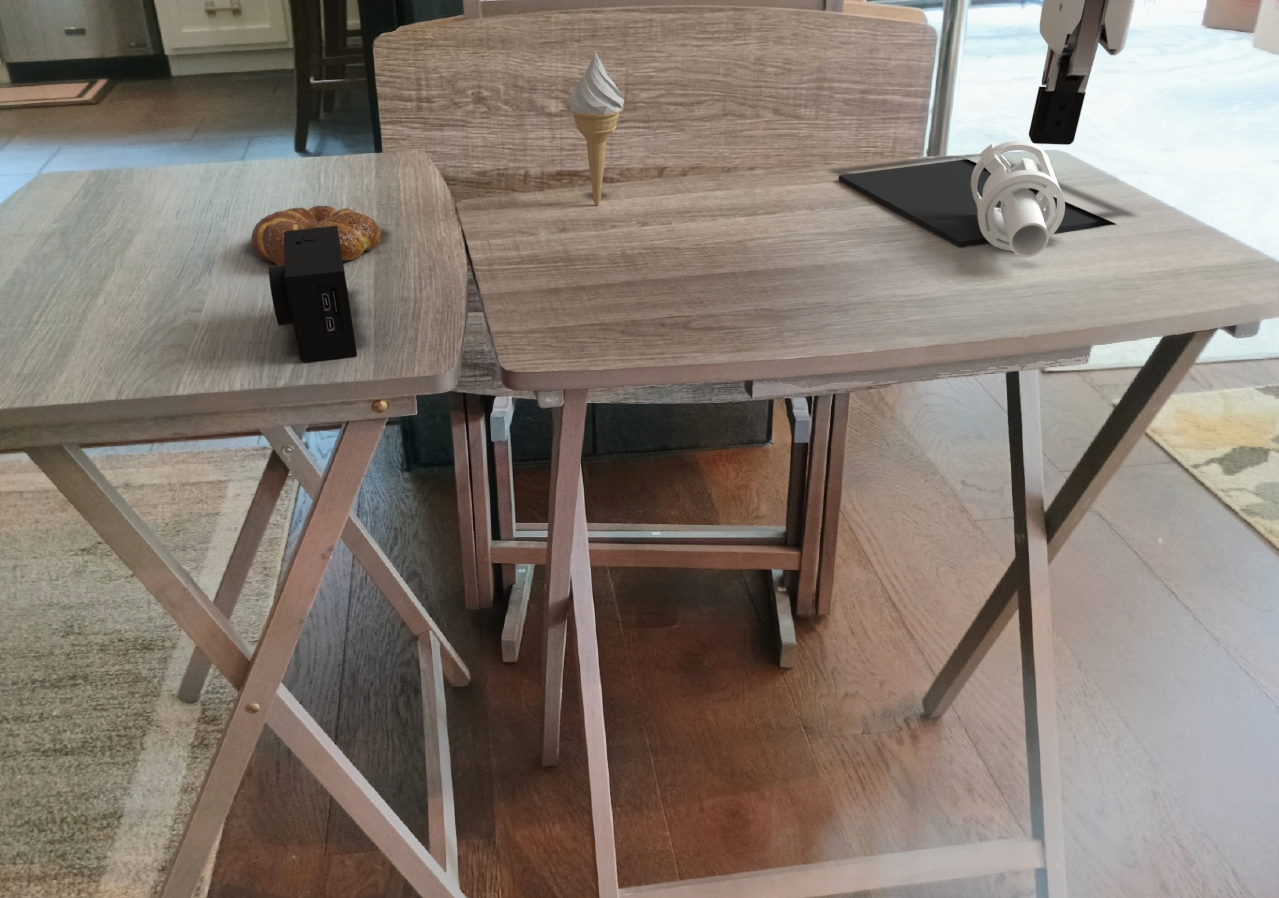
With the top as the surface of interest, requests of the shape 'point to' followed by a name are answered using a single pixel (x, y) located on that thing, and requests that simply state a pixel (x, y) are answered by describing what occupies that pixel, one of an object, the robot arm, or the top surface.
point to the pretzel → (352, 227)
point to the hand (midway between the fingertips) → (1050, 140)
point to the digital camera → (314, 294)
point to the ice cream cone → (596, 116)
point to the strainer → (1018, 199)
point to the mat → (946, 199)
